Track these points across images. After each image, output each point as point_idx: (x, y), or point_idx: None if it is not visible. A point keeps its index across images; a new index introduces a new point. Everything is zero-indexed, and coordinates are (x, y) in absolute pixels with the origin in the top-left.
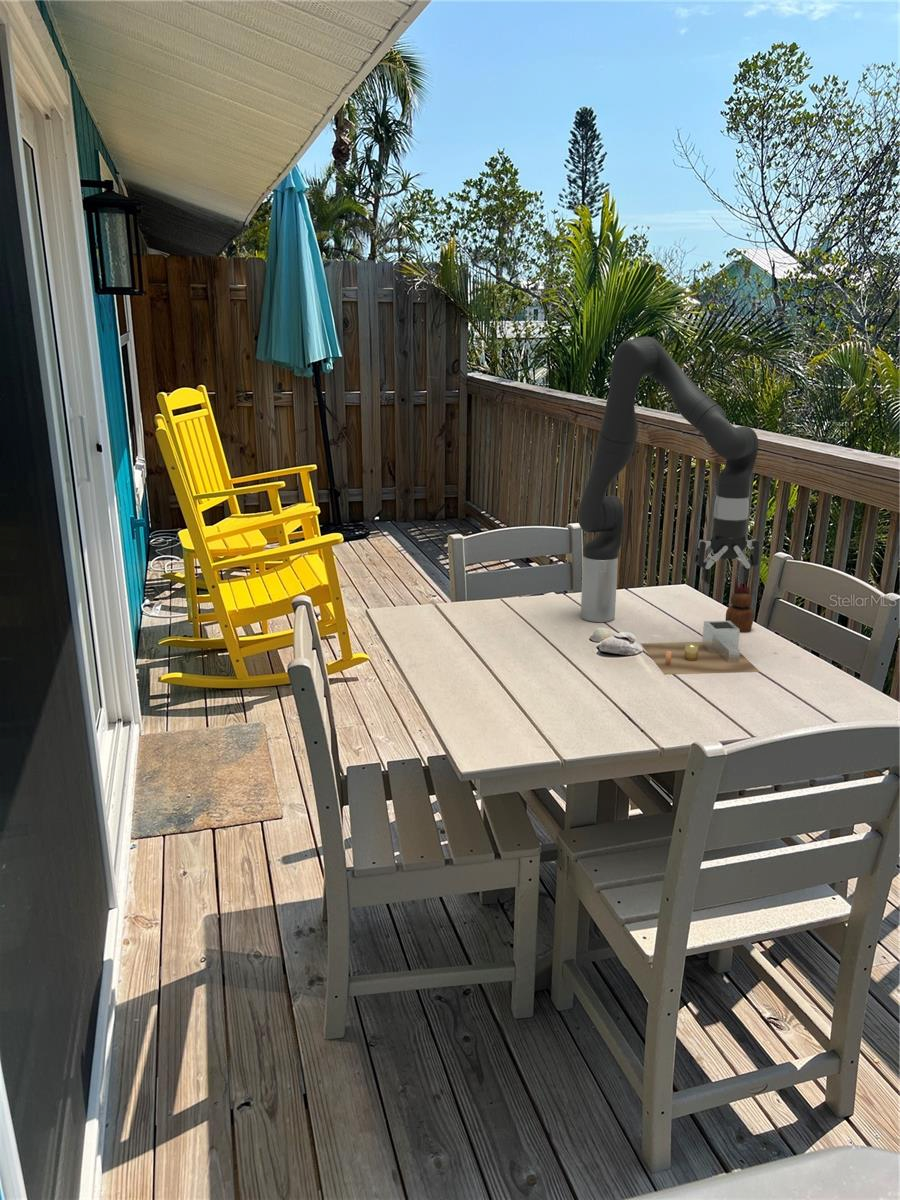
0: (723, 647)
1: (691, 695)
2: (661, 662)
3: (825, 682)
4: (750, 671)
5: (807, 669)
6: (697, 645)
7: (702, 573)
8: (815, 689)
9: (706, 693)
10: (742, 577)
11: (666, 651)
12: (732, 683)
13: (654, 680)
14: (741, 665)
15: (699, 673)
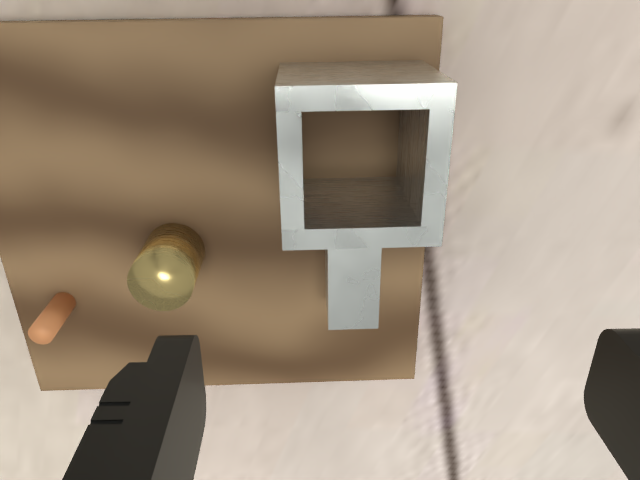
0: (327, 259)
1: None
2: (37, 284)
3: None
4: (379, 375)
5: (632, 297)
6: (185, 295)
7: (86, 442)
8: (543, 441)
9: None
10: (622, 440)
11: (29, 329)
12: (294, 398)
13: (16, 371)
14: None
15: None
